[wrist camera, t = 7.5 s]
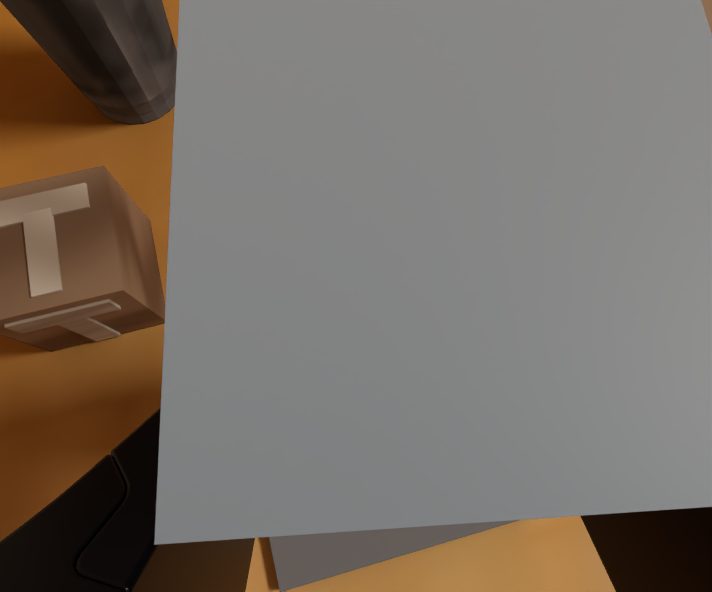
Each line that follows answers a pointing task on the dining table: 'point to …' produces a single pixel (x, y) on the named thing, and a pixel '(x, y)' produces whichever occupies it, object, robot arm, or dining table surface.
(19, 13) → the beverage cup
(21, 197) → the walnut cube
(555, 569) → the dining table surface
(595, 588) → the dining table surface
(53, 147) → the dining table surface
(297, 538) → the coaster
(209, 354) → the slate block
